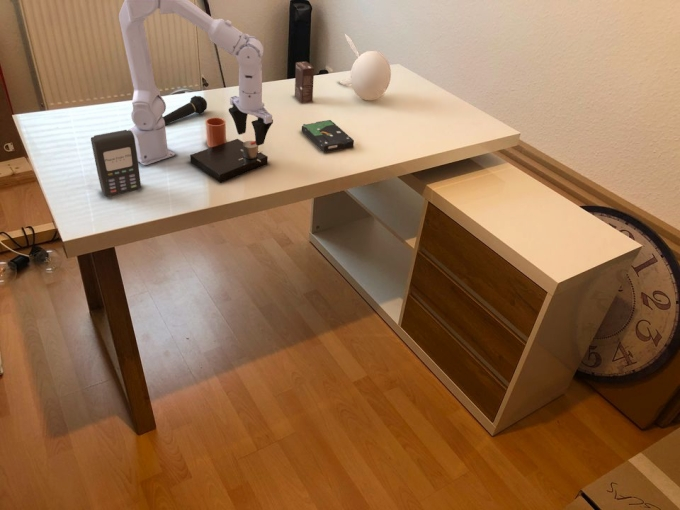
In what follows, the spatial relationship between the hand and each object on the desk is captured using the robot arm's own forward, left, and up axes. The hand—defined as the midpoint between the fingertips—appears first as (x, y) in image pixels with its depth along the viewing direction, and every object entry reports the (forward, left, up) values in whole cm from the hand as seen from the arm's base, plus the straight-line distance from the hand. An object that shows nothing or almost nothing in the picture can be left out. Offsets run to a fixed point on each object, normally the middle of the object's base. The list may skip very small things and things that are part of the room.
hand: (250, 138), depth 147 cm
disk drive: (+27, -2, -8) cm, 29 cm away
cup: (-1, +15, -8) cm, 16 cm away
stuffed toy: (+62, +15, -8) cm, 65 cm away
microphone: (0, +35, -8) cm, 35 cm away
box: (+42, +24, -8) cm, 49 cm away
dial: (0, 0, -5) cm, 5 cm away
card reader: (-34, +9, -8) cm, 35 cm away
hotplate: (-5, +4, -8) cm, 10 cm away
